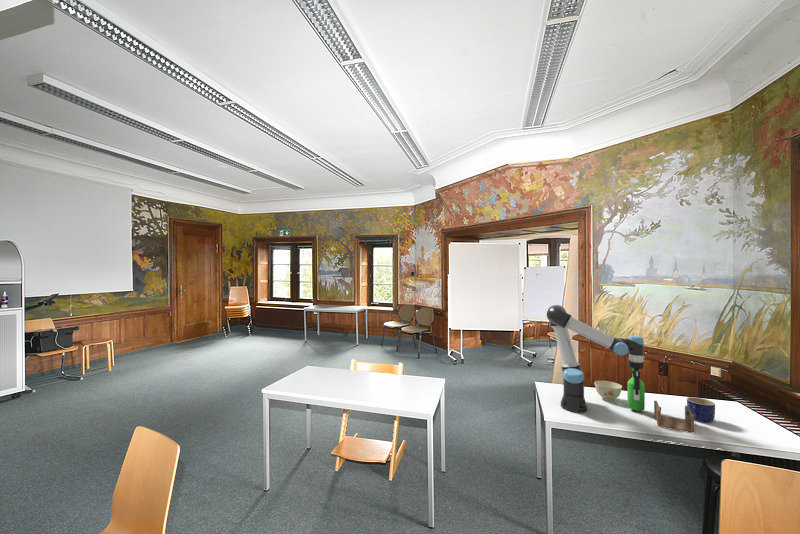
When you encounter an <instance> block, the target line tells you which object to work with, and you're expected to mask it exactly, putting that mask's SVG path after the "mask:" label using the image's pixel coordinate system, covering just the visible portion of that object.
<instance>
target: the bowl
mask: <svg viewBox="0 0 800 534" xmlns="http://www.w3.org/2000/svg"><path fill="white" fill-rule="evenodd" d="M594 387H595V390H596V393H597V394H598V395H599V396H600V397H601V398H602V399H603V400H605V401H608V402H609V401H610V402H613V401H615V400H616V399H617V398H619V397H620V395H621V392H622V390H623V385H621V384H619V383H618V382H614V381H609V380H595V381H594Z"/></svg>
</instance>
